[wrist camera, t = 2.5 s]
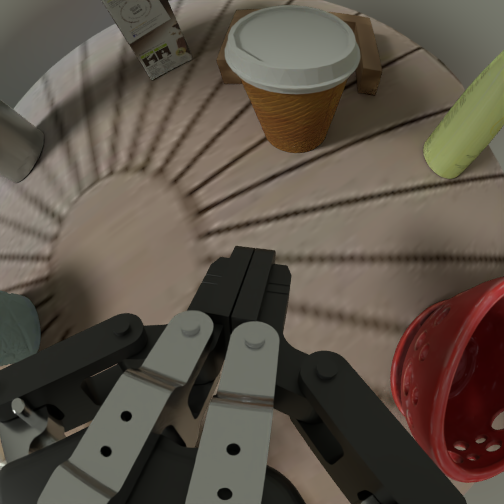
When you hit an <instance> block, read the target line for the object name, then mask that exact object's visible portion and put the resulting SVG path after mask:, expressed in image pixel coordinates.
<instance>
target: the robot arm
mask: <svg viewBox="0 0 504 504" xmlns="http://www.w3.org/2000/svg"><path fill="white" fill-rule="evenodd" d="M43 144H44V135H43V133H42V132H41V131H40V130H39V129H38V128H36V127H35V126H34V125H32V124H31V123H30V122H28V121H27V120H26V119H25V118H23V117H22V116H21V115H20V114H18V113H17V112H16V111H14V110H13V109H12V108H11V107H9V106H8V105H7V104H5V103H4V102H3V101H2V100H0V176H2V177H4V178H6V179H8V180H10V181H12V182H14V183H17V182H20V181H21V180H23V179H24V178H25V177H26V176H27V175H28V174H29V172H30V171H31V170H32V168H33V167H34V165H35V163H36V162H37V160H38V158H39V156H40V153H41V151H42V148H43ZM275 255H276V252H275V250H266V249H258V248H256V249H255V248H250V247H241V246H235V248H234V250H233V252H232V254H231V256H230V258H224V257H220V258H219V259H218V260H216V261H215V262H214V263H212V264H211V266H210V268H209V270H208V271H207V273H206V275H205V277H204V279H203V281H202V283H201V285H200V287H199V289H198V290H197V292H196V294H195V296H194V298H193V300H192V302H191V304H190V306H189V308H188V310H187V311H185V312H182V313H179V314H177V315H176V316H174V317H173V318H172V319H171V321H170V322H169V324H166V325H150V326H144V325H143V323H142V321H141V319H140V318H139V317H138V316H136V315H134V314H129V313H124V314H119V315H116V316H114V317H112V318H110V319H108V320H105V321H103V322H101V323H99V324H97V325H95V326H93V327H91V328H89V329H86V330H84V331H82V332H80V333H78V334H76V335H74V336H72V337H69V338H67V339H65V340H63V341H61V342H59V343H57V344H55V345H53V346H50V347H48V348H46V349H44V350H42V351H40V352H38V353H36V354H33V355H31V356H29V357H27V358H25V359H23V360H21V361H19V362H17V363H14V364H12V365H10V366H8V367H6V368H4V369H2V370H0V438H1V443H2V447H3V451H4V455H5V459H6V462H7V464H6V465H5V466H3V467H2V468H1V470H0V504H306V503H305V502H304V500H303V498H302V497H301V495H300V494H299V492H298V491H297V489H296V488H295V486H294V485H293V484H292V483H291V482H290V481H289V480H288V479H287V478H286V477H285V476H284V475H283V474H281V473H280V472H278V471H277V470H275V469H274V468H272V467H270V466H268V465H267V457H268V449H269V441H270V433H271V425H272V416H273V408H274V409H276V410H278V411H280V412H283V413H285V414H287V415H289V416H290V419H291V421H292V422H293V424H294V425H295V427H296V428H297V430H298V431H299V433H300V434H301V436H302V437H303V438H304V440H305V441H306V443H307V444H308V446H309V447H310V449H311V450H312V451H313V453H314V454H315V456H316V457H317V458H318V460H319V461H320V463H321V464H322V465H323V467H324V468H325V470H326V471H327V472H328V474H329V475H330V476H331V478H332V479H333V480H334V482H335V483H336V484H337V486H338V487H339V488H340V490H341V491H342V492H343V494H344V495H345V496H346V498H347V499H348V500H349V502H350V503H351V504H467V503H466V500H465V498H464V497H463V495H462V494H461V493H460V492H459V491H458V489H457V488H456V487H455V486H454V485H453V484H452V483H451V481H450V480H449V479H448V478H447V477H446V476H445V474H444V473H443V472H442V471H441V470H440V469H439V467H438V466H437V465H436V464H435V463H434V462H433V460H432V459H431V458H430V457H429V456H428V455H427V454H426V452H425V451H424V450H423V449H422V448H421V447H420V445H419V444H418V443H417V442H416V441H415V440H414V438H413V437H412V436H411V435H410V434H409V433H408V431H407V430H406V429H405V428H404V427H403V426H402V425H401V423H400V422H399V421H398V420H397V419H396V418H395V416H394V415H393V414H392V413H391V412H390V411H389V409H388V408H387V407H386V406H385V405H384V404H383V402H382V401H381V400H380V399H379V398H378V397H377V396H376V394H375V393H374V392H373V391H372V390H371V389H370V387H369V386H368V385H367V384H366V383H365V382H364V380H363V379H362V378H361V377H360V376H359V375H358V374H357V372H356V371H355V370H354V369H353V368H352V367H351V365H350V364H349V363H348V362H347V361H346V360H345V359H344V358H343V357H342V356H340V355H339V354H337V353H334V352H331V351H318V352H314V353H312V354H310V355H308V354H306V353H303V352H301V351H299V350H297V349H295V348H293V347H292V346H291V345H290V344H289V343H288V342H287V341H286V339H285V338H284V335H283V330H284V324H285V319H286V313H287V307H288V299H289V292H290V283H291V273H290V271H289V269H288V266H286V265H278V264H275ZM224 360H225V362H224ZM223 362H224V366H223V371H222V375H221V379H220V371H221V368H222V365H223ZM117 363H118V364H117ZM115 364H117V365H115ZM113 365H115V366H113ZM111 366H113V367H111ZM109 367H111V368H109ZM107 368H109V369H107ZM105 369H107V370H105ZM103 370H105V371H103ZM101 371H103V372H101ZM99 372H101V373H99ZM97 373H99V374H97ZM95 374H97V375H95ZM93 375H95V376H93ZM91 376H92V377H91ZM219 379H220V383H219V387H218V391H217V394H216V395H214V396H213V393H214V391H215V389H216V386H217V384H218V382H219ZM212 396H213V397H212ZM211 398H212V399H211ZM210 400H211V401H210ZM209 402H210V404H209ZM208 405H209V408H208V412H207V416H206V420H205V424H204V428H203V432H202V436H201V440H200V444H199V448H194V447H195V445H196V443H197V440H198V436H199V429H200V424H201V421H202V418H203V416H204V414H205V411H206V409H207V407H208ZM91 420H93V421H92V422H91V424H90V426H89V427H87V428H84V429H82V430H80V431H78V432H76V433H74V434H72V435H70V436H68V437H66V436H65V434H64V432H67V431H69V430H71V429H74V428H76V427H78V426H80V425H82V424H85V423H87V422H89V421H91Z"/></svg>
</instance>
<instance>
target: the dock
mask: <svg viewBox="0 0 504 504" xmlns="http://www.w3.org/2000/svg"><path fill="white" fill-rule="evenodd" d="M258 10H261V9H246V10H236V12H235V14H234V17H233V19H232V21H231V24H230V26H229V29H228V31H227V34H226V36H225V39H224V41H223V44H222V46H221V49H220V52H219V54H218V57H217V60H216V61H217V64H218V66H219V69H220V72H221V75H222V78H223V81H224V84H241V83H242V81H241V79H240V77H239V76H238V75H237V74H236V73H235V72H233V71H232V69H231V68H230V66H229V65H228V64H227V62H226V59H225V47H226V44H227V41H228V34H229V32H230V30H231V28H232V26H233V25H234V24H235V23H236V22H238V21H239V20H240V19H241V18H243V17H245V16H246V15H248V14H250V13H252V12H255V11H258ZM329 13H331V14H333V15H335V16H337V17H338V18H340V19H341V20H342V21H344V22H345V23H346V24H348V26H349V27H350V28H351V29H352V31H353V33H354V35H355V40H356V42H357V44H358V46H359V49H360V61H359V64H358V67H357V68H356V78H357V89H358V93H364V94H370V95H375V94H376V91H377V88H378V85H379V81H380V78H381V75H382V67H381V62H380V58H379V53H378V49H377V44H376V40H375V36H374V32H373V29H372V25H371V21H370V18H367V17H361V16H355V15H349V14H342V13H334V12H329Z"/></svg>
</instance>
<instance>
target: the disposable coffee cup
mask: <svg viewBox="0 0 504 504" xmlns="http://www.w3.org/2000/svg"><path fill="white" fill-rule="evenodd" d="M225 59H226V62H227V64H228V65H229V66H230V68H231V69H232V71H233V72H235V73H236V74H237V75H238V76H239V77H240V79H241V81H242V84H243V86H244V88H245V90H246V92H247V95H248V97H249V99H250V100H251V103H252V105H253V108H254V110H255V112H256V115H257V117H258V119H259V122H260V124H261V126H262V129H263V131H264V133H265V136H266V138H267V139H268V141H269V142H270V143H271V144H272V145H273V146H275V147H276V148H278V149H280V150H282V151H286V152H291V153H302V152H307V151H310V150H312V149H315V148H316V147H317V146H319V145H320V144H321V143H322V142H323V140H324V139H325V137H326V134H327V131H328V129H329V126H330V124H331V121H332V119H333V116H334V114H335V111H336V108H337V106H338V103H339V101H340V98H341V95H342V93H343V90H344V88H345V85H346V82H347V79H348V77H349V76H350V75H351V74H353V72H354V71H355V69H356V68H357V67H358V64H359V61H360V49H359V46H358V44H357V42H356V40H355V35H354V33H353V31H352V29H351V28H350V27H349V26H348V24H346V23H345V22H344V21H342V20H341V19H340V18H338V17H337V16H335V15H333V14H331V13H329V12H326V11H323V10H320V9H316V8H312V7H306V6H298V5H284V6H274V7H268V8H264V9H261V10H258V11H255V12H252V13H250V14H248V15H246V16H245V17H243V18H241V19H240V20H239V21H238V22H236V23H235V24H234V25H233V26H232V28H231V30H230V32H229V34H228V41H227V44H226V47H225Z"/></svg>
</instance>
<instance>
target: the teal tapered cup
mask: <svg viewBox="0 0 504 504" xmlns="http://www.w3.org/2000/svg"><path fill="white" fill-rule="evenodd" d="M40 337H41V331H40V323H39V318H38V314H37V311H36V309H35V306H34V305H33V304H32V302H31V301H30V300H29V298H26V297H25V296H22V295H18V294H13V293H11V294H8V293H7V292H3V291H0V366H3V365H8V364H13V363H17V362H19V361H21V360H23V359H25V358H27V357H29V356H31V355H33V354H36V353H37V352H38V349H39V345H40Z"/></svg>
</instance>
